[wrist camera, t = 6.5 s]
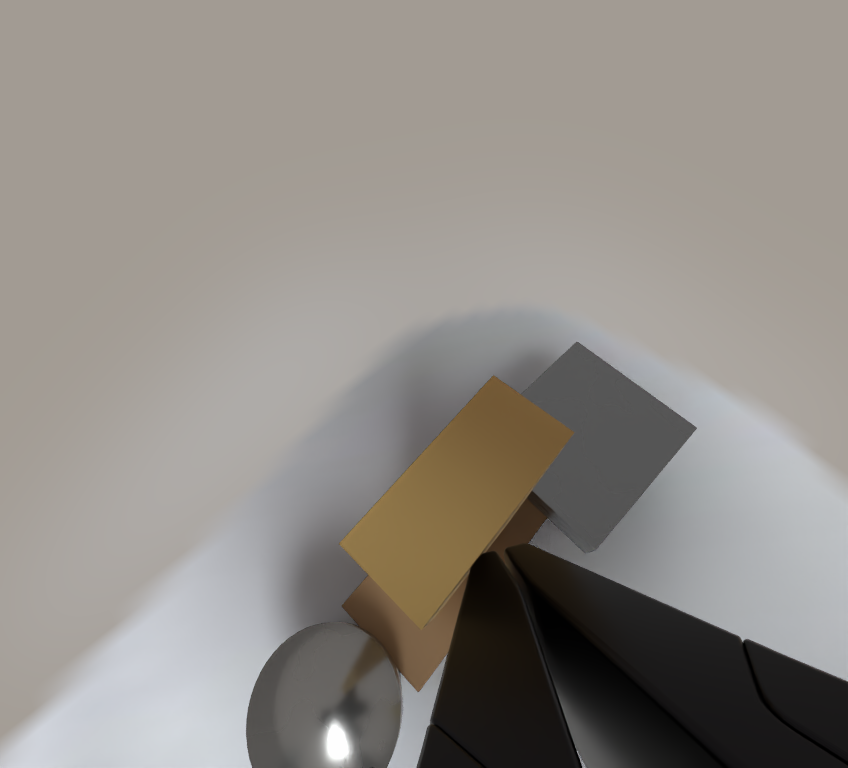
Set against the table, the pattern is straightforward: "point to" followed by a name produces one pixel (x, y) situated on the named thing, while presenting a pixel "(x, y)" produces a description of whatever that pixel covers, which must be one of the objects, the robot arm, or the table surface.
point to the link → (449, 523)
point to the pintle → (326, 702)
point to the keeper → (600, 445)
